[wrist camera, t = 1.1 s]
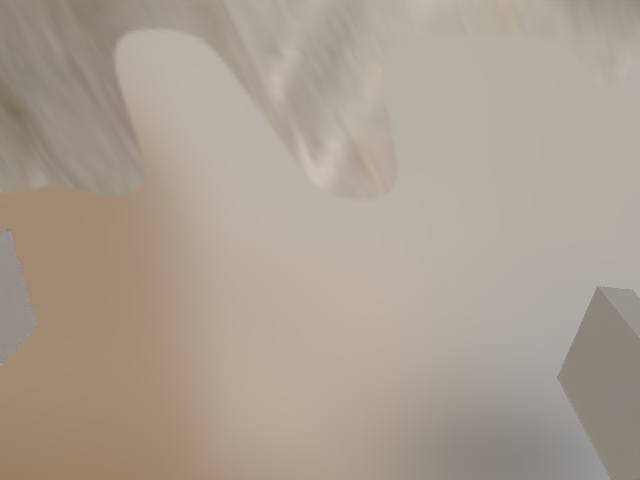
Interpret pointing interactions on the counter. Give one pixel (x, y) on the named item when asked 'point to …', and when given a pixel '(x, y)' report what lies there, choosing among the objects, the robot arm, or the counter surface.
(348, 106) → the counter surface
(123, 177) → the counter surface
